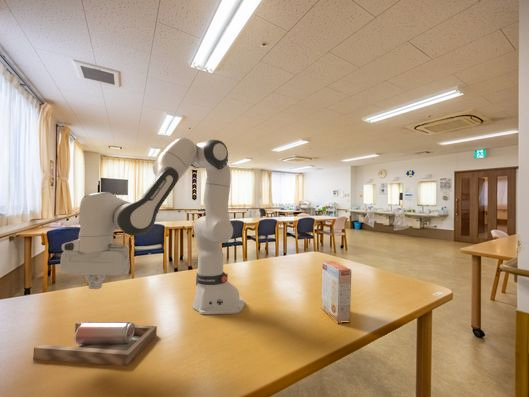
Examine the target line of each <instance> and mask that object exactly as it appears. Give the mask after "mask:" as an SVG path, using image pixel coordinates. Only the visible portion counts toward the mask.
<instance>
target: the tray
mask: <svg viewBox="0 0 529 397" xmlns="http://www.w3.org/2000/svg"><path fill="white" fill-rule="evenodd" d="M85 322H86V321H83V320H82V321H81V320H79V321H77V322H75V327H74V328H75V329H74V333H76V331H77V329H78V327H79V326H80V325H81V324H83V323H85ZM134 325H135V330H134V335H133V337H132V339H131V341H130V342H129V343H125V344H82V346H80V347H78V346H65V345H64V346H63V345H53V344H52V345H51V344H38V345H36V346H35V347H33V354H32V355H33V356H32V358H33V359H34V360H48V361H60V362H75V363H87V364H98V365H99V364H101V365H114V366H126V367H127V366H129V365H130V364H131V363H132V362H133V361H134V360H135V358H137V356H139V355H140V353H141V352H142V351H143V350H144V349H145V348H146V347H147V346H148V345H149V344H150V343H151V342H152V341H153V340H154V338H156V337H157V331H158V330H157V328H158V326H157V325H155V326H154V325H145V324H134Z"/></svg>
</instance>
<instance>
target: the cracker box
mask: <svg viewBox="0 0 529 397" xmlns="http://www.w3.org/2000/svg"><path fill="white" fill-rule="evenodd" d="M321 273H322V275H321V276H322V277H321V281H322V282H321V305H322V307H323V308H324V309H325V310H326V311H327V312H328V313H329V314H330V315H331V316H332V317H333V318H334V319H335V320H336V321H337V322H341V321H349V320H350V321H351V304H352V303H351V299H352V269H351V268H348V267H347V266H345V265H342V264H340V263H339V262H336V261H333V260H331V261H324V260H323V261H322V271H321Z"/></svg>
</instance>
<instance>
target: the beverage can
mask: <svg viewBox="0 0 529 397" xmlns="http://www.w3.org/2000/svg"><path fill="white" fill-rule="evenodd" d="M84 322H85V323H83V324H81V325H80V326H79V327H78V329H77V331H76V332H74V333H75V334H74V342H75V343H76V344H78V345H84V344H125V343H129V342H130V341H131V339H132V337H133V335H134V330H135V325H136V324H135V322H130V321H101V322H100V321H84Z"/></svg>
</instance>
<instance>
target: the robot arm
mask: <svg viewBox="0 0 529 397" xmlns="http://www.w3.org/2000/svg"><path fill="white" fill-rule="evenodd" d="M228 159H229V151H228V148H227V146H226V144H225V143H224V142H223V141H221V140H218V139H210V140H204V141H200V142H198V143H195V142H193V140H191V139H189V138H187V137H184V136H183V137H179V138H177V139H175V140H174V141H172V142H171V143H170V144H169V145H168V146H167V147H166V148H165V149H163V151H162V152H161V153H160V154H159V155H158V157H157V158H156V159H155V162H154V163H153V165H152V171H153V173H154V176H155V177H154V179H153V182H152V183H151V184H150V186H149V187H148V188H147V189H146V191H145V192H144V193H143V194H142V196H141V197H140V198H139V199H138V200H136V201H134V202H130V201H127V200H125V199H122V198H119V197H117V196H116V195H114V194H112V193H111V192H110V191H102V192H94V193H88V194H86V195H84V196H83V197H82V199H80V200H81V201H80V205H79V211H78V212H79V213H78V222H79V225H80V229H79V232H78V239H75V240H71V241H69V242H65V243H63V244H62V245H61V250H62V251H63V252H62V253H61V255H60V263H59V269H60V272H62V274H63V275H84V276H85V277H84V278H85V280H86V282H87V284H88V289H90V290H99V289H102V286H103V282H104V280H105V278H106V277H107V276H117V277H118V276H119V277H121V276H124V275H126V274H128V273H129V271H130V269H131V265H130V263H131V262H130V256H129V253H130V252H129V251H130V250H129V248H128V247H127V246H126V245H125V244H116V243H114V232H115V231H116V230H117V231H122V232H124V234H127V235H129V236H135V237H138V236H142V235H145V234H147V233H148V232H150V231H151V230H152V228H153V227H154V225H155V222H156V220H157V219H156V218H157V215H158V211H159V210H160V208H161V207H162V205H163V204H164V202H165V201H166V199H167V198H168V196H169V195H170V193H171V192H173V189H174V187H175V186H176V184H178V182H179V181H180V179H181V178H182V177H183V176H184V174H186V172H187V171H188V169H189V168H190V167H192V168H195V169H205V171H206V179H205V187H204V194H203V198H202V199H203V205H204V209H205V210H204V211H205V215H203V216H200V217H199V218H197V219H196V220H195V221H194V223H193V232H194V234H195V242H196V248H197V256H198V258H197V259H198V260H197V272H196V277H195V286H196V288H195V289H196V290H195V295H194V299H193V303H192V308H193V309H194V310H195V311H198V312H199V314H200V315H222V314H223V315H227V314H229V315H230V314H231V315H232V314H238V313H240V312H242V310H243V309H244V308H243V307H245V300H244V299H243V297H241V296H240V291H239V289H238V288H237V287H236V286H235V285H234V284H232V283H231V282H229V280H228V277H229V276H228V275H229V273H226V272H225V271H224V264H225V263H224V259H225V258H224V255H225V254H224V252H223V250H222V249H223V248H222V245H221V244H222V243H224V244H225V243H227V242H228V241H229V240H231V238H232V237H233V234H234V227H233V225H232V222H231V221H230V220H231V219H230V213H229V200H230V192H231V181H232V179H231V177H232V175H231V167H230V166H229V165H228V162H229V160H228ZM95 276H96V279H97V280H95Z"/></svg>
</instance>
